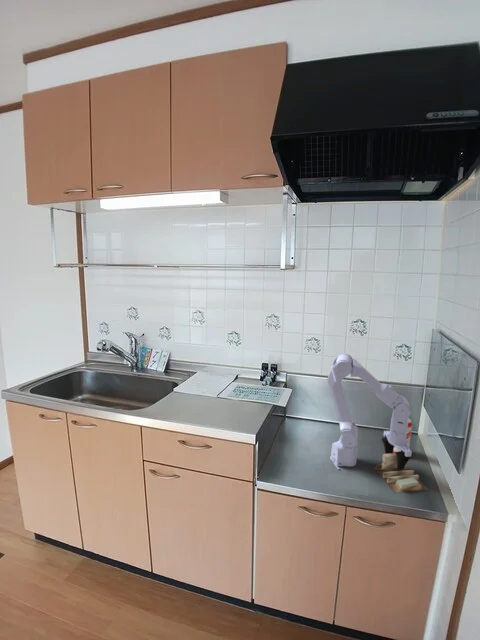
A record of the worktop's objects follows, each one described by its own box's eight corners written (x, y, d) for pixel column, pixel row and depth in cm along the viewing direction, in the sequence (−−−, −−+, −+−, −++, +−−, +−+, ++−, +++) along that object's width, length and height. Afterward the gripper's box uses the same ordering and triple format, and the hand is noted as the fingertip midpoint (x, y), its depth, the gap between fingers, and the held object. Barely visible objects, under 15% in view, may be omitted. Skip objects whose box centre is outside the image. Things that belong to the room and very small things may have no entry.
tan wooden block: (383, 473, 126) (385, 456, 124) (381, 470, 127) (383, 453, 126) (405, 471, 127) (407, 455, 126) (402, 468, 129) (404, 452, 127)
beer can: (409, 460, 136) (414, 424, 133) (393, 458, 137) (398, 422, 134) (405, 451, 142) (410, 416, 139) (389, 449, 143) (394, 415, 140)
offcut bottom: (400, 490, 116) (400, 487, 116) (395, 485, 119) (395, 482, 119) (421, 489, 118) (421, 486, 117) (415, 483, 120) (415, 480, 120)
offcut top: (401, 488, 116) (402, 485, 116) (396, 483, 118) (396, 480, 118) (417, 484, 118) (418, 481, 118) (412, 480, 120) (412, 477, 120)
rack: (394, 494, 116) (395, 487, 115) (372, 469, 129) (373, 462, 129) (428, 492, 118) (429, 484, 117) (403, 467, 131) (404, 460, 131)
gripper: (421, 439, 117) (416, 474, 120) (396, 419, 131) (393, 450, 134) (402, 441, 116) (398, 475, 119) (380, 420, 130) (376, 452, 133)
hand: (394, 462), depth 126 cm, fingers open, 7 cm apart
